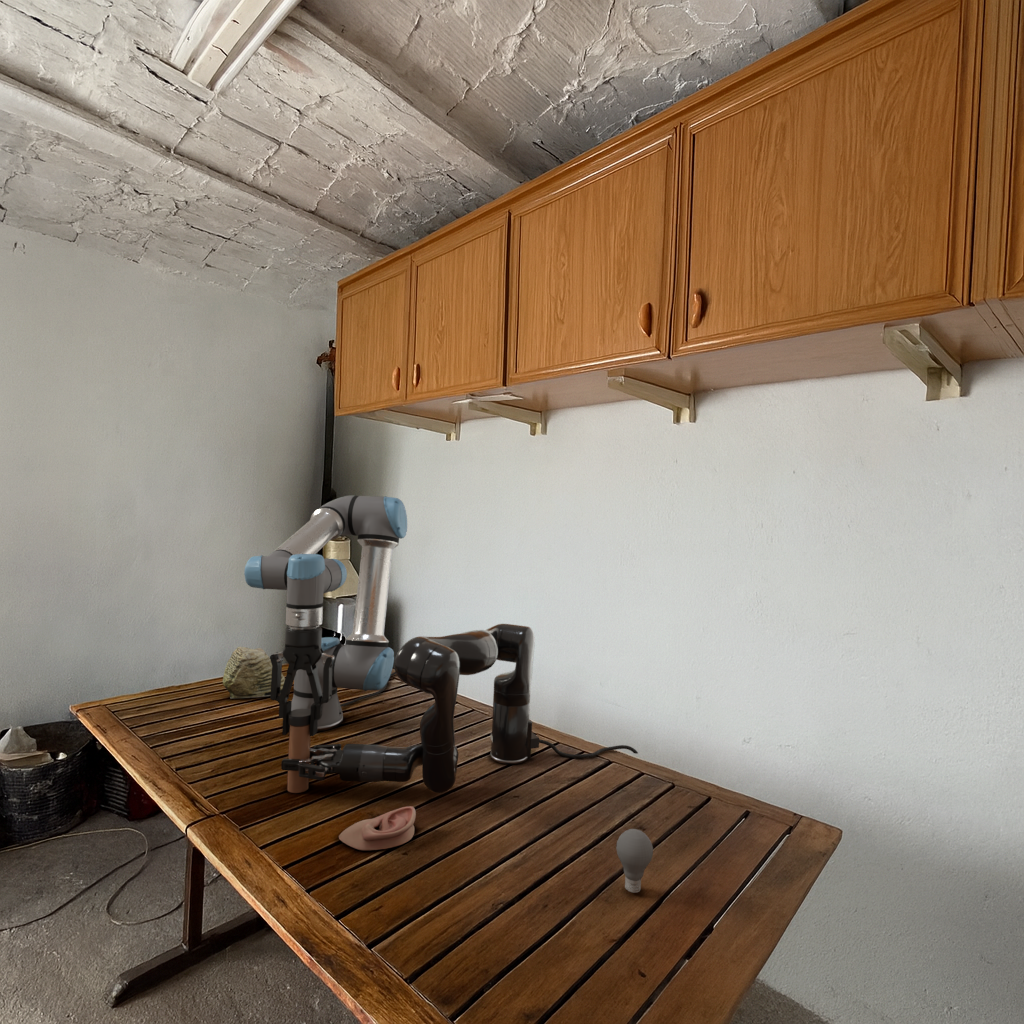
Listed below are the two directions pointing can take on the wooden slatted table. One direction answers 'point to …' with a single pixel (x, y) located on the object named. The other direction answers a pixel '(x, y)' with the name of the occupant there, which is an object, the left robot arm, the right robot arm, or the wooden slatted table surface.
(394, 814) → the anatomical model
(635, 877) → the light bulb
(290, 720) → the lid
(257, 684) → the fossil
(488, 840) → the wooden slatted table surface
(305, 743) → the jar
